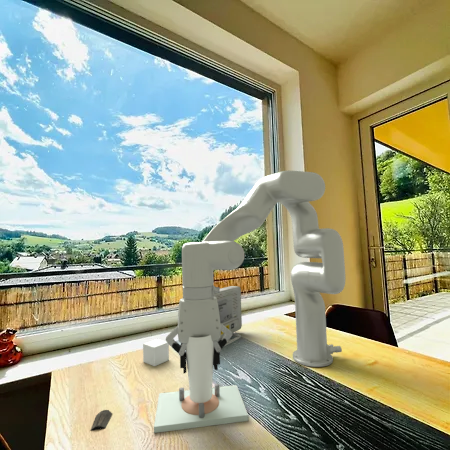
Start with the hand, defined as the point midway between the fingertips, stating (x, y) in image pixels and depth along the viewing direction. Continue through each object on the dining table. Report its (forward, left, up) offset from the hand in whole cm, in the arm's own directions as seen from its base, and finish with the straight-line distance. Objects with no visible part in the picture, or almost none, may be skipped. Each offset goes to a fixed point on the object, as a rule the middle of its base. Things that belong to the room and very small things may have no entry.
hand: (200, 368), depth 65 cm
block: (+22, 0, -10) cm, 24 cm away
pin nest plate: (0, 0, -9) cm, 9 cm away
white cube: (+13, -30, -9) cm, 34 cm away
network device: (-11, -44, -9) cm, 46 cm away
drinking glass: (0, 0, -7) cm, 7 cm away
